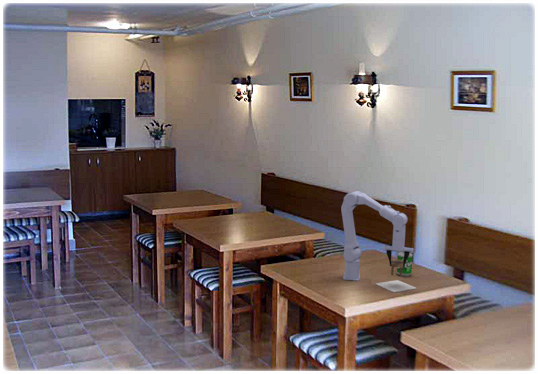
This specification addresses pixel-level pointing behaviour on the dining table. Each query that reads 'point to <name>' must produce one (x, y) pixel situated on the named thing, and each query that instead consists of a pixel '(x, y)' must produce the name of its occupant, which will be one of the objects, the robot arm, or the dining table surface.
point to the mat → (395, 286)
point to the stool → (396, 265)
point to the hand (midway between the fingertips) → (397, 266)
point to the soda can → (408, 265)
